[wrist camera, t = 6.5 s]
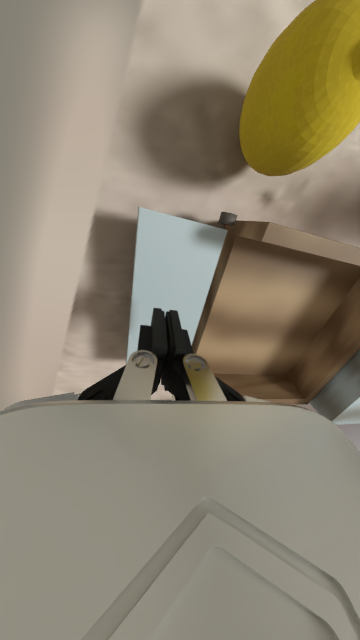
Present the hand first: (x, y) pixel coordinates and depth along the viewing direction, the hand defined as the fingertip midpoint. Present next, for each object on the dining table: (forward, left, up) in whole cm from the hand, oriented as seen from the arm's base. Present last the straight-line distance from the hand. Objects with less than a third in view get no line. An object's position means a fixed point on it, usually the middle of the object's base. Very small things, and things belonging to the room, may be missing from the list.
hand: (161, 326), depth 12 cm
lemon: (-13, +5, -7) cm, 16 cm away
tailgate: (+1, +4, -4) cm, 6 cm away
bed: (+1, +15, -7) cm, 17 cm away
